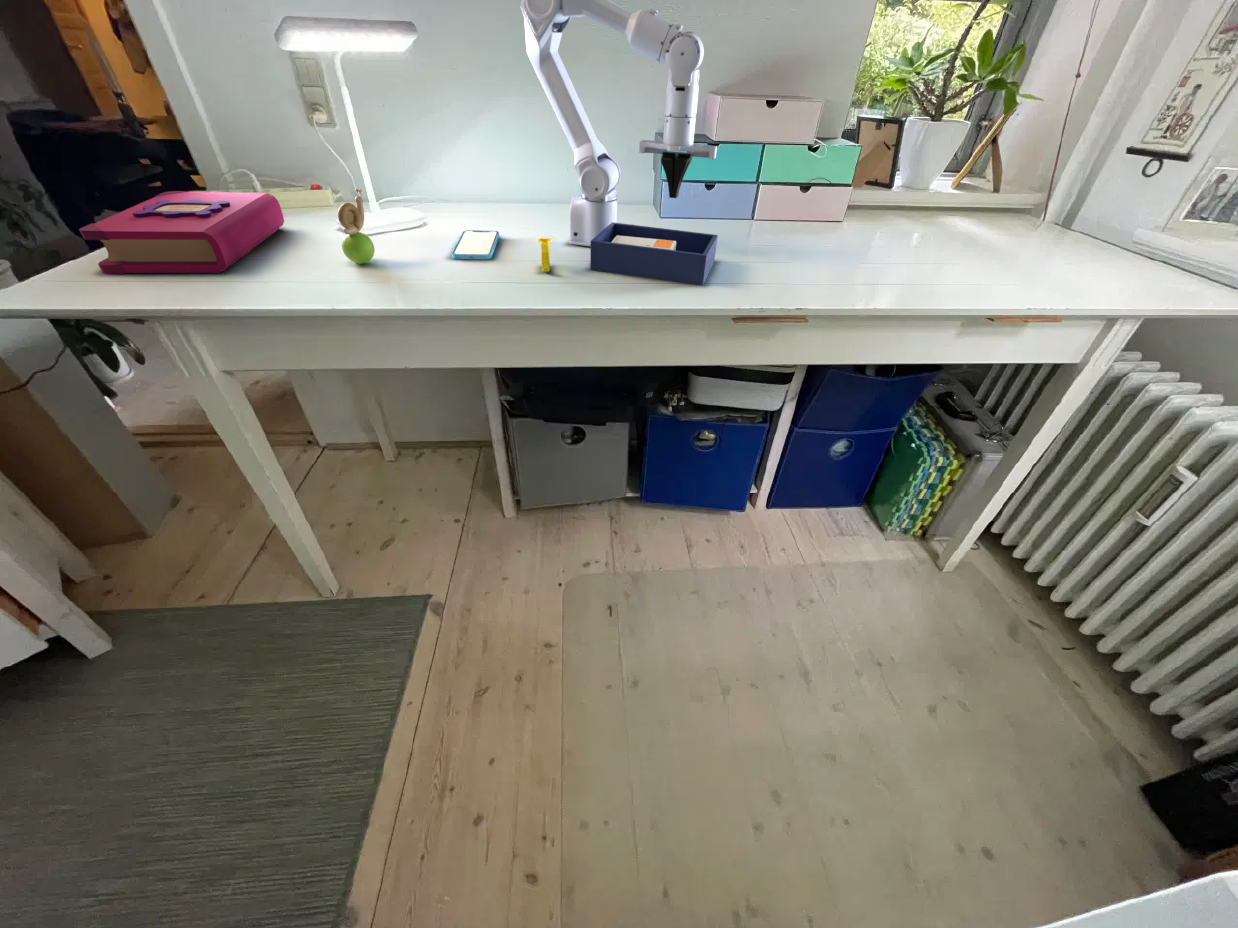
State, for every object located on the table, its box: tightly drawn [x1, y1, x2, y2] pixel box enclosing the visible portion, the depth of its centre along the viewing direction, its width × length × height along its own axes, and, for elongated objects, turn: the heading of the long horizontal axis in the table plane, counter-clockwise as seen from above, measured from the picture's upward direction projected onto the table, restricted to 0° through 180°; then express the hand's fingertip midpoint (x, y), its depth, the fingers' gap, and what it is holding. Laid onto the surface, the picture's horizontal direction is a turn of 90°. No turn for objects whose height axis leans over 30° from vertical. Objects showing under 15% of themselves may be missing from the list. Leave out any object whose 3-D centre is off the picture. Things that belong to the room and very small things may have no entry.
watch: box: [536, 234, 553, 273], centre depth 101 cm, size 6×3×6 cm, turn 6°
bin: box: [589, 222, 719, 286], centre depth 105 cm, size 22×14×5 cm, turn 74°
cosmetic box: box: [612, 235, 676, 250], centre depth 105 cm, size 6×4×12 cm
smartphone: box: [451, 229, 500, 260], centre depth 112 cm, size 8×1×15 cm
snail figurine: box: [337, 188, 375, 264], centre depth 99 cm, size 5×6×12 cm
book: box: [78, 190, 285, 275], centre depth 103 cm, size 21×28×8 cm
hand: (673, 197), depth 108 cm, fingers closed
